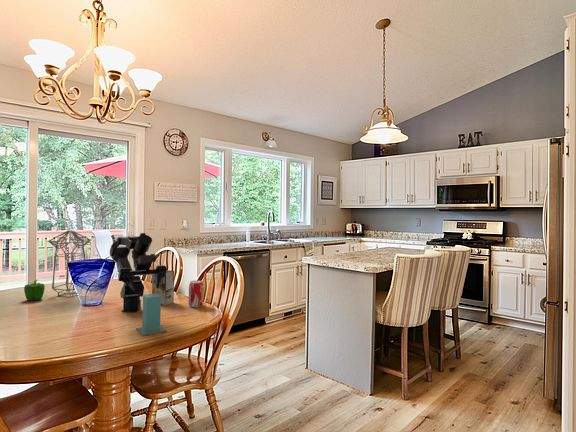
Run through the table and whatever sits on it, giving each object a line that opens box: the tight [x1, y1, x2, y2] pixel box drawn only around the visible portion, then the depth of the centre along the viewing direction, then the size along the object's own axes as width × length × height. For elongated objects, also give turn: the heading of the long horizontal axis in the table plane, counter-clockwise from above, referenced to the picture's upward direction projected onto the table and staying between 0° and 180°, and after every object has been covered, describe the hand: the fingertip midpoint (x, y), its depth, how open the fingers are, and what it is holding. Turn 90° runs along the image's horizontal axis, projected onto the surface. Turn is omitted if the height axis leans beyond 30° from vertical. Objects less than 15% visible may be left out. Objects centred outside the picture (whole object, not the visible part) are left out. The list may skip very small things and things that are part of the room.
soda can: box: [188, 280, 205, 308], centre depth 172 cm, size 7×7×12 cm
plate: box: [135, 324, 168, 337], centre depth 135 cm, size 9×9×1 cm
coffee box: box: [151, 269, 175, 306], centre depth 177 cm, size 9×6×16 cm
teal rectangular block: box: [141, 293, 162, 332], centre depth 135 cm, size 5×5×13 cm
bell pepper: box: [23, 278, 45, 302], centre depth 178 cm, size 8×8×10 cm
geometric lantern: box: [46, 229, 92, 298], centre depth 188 cm, size 16×16×35 cm
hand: (146, 289), depth 145 cm, fingers open, 9 cm apart
